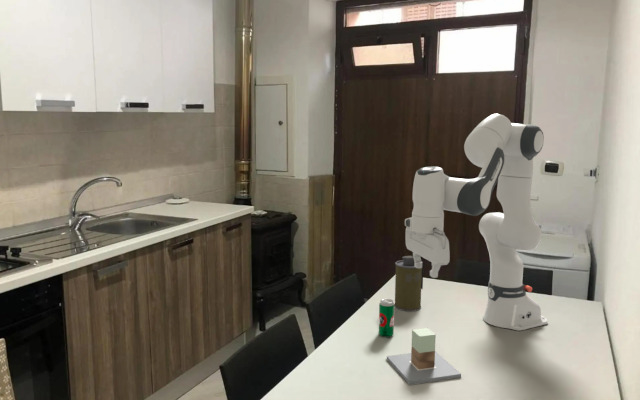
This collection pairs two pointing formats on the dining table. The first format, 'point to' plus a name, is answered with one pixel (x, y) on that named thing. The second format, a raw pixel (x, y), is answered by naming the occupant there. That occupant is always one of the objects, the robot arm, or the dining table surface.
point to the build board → (416, 375)
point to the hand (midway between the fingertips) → (425, 272)
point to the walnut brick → (422, 359)
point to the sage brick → (423, 340)
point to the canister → (408, 284)
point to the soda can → (386, 318)
